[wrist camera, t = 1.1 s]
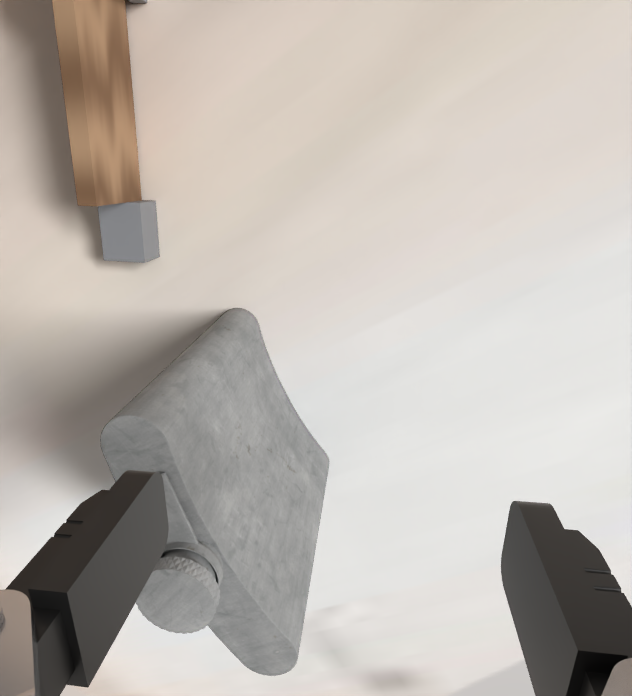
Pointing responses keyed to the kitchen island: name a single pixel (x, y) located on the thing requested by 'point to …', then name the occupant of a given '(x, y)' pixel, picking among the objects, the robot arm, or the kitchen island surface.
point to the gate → (98, 99)
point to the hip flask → (227, 494)
